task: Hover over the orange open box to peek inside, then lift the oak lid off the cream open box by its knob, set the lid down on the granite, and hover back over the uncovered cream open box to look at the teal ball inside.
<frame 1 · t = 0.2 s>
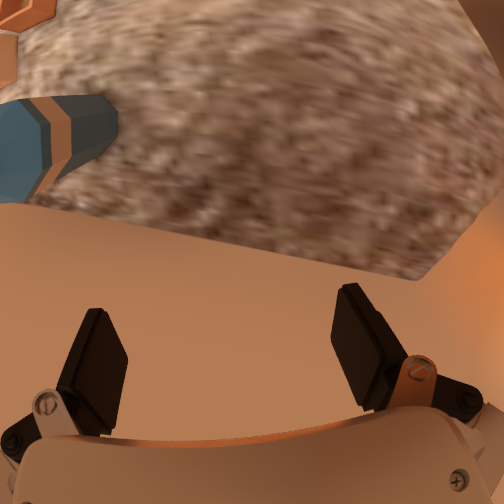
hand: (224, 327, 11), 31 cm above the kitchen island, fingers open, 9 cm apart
cream open box: (0, 67, 24), on the kitchen island
orange open box: (39, 6, 21), on the kitchen island
water bottle: (89, 125, 33), on the kitchen island
cork: (37, 6, 20), point 1 cm above the kitchen island, touching orange open box
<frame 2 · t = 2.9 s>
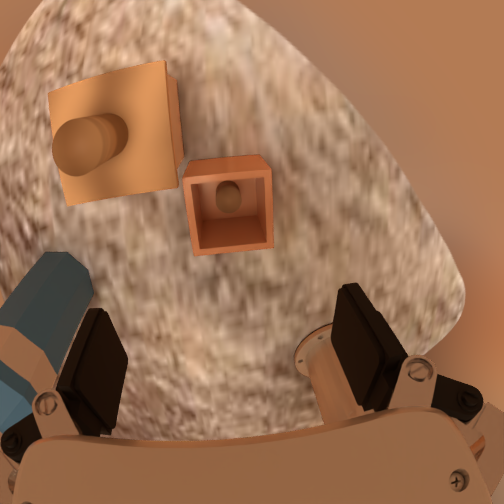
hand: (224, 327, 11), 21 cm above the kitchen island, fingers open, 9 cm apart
cream open box: (141, 124, 25), on the kitchen island
lid: (110, 134, 18), point 9 cm above the kitchen island, touching cream open box
orange open box: (227, 190, 30), on the kitchen island
water bottle: (64, 279, 33), on the kitchen island
cork: (227, 191, 29), point 1 cm above the kitchen island, touching orange open box
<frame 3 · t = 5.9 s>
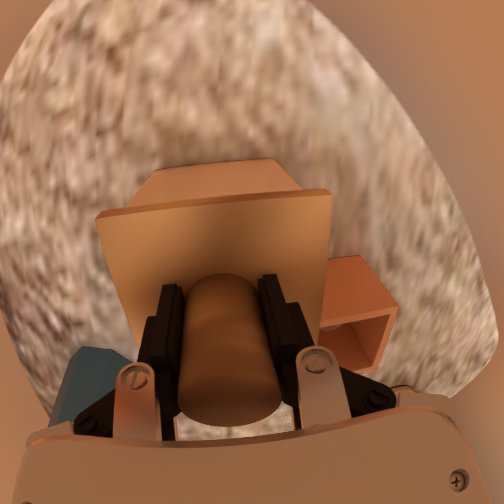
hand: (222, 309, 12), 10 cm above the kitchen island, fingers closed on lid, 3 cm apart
cream open box: (218, 217, 21), on the kitchen island
lid: (222, 293, 13), point 9 cm above the kitchen island, touching cream open box, gripper
orange open box: (318, 293, 25), on the kitchen island
water bottle: (107, 371, 28), on the kitchen island
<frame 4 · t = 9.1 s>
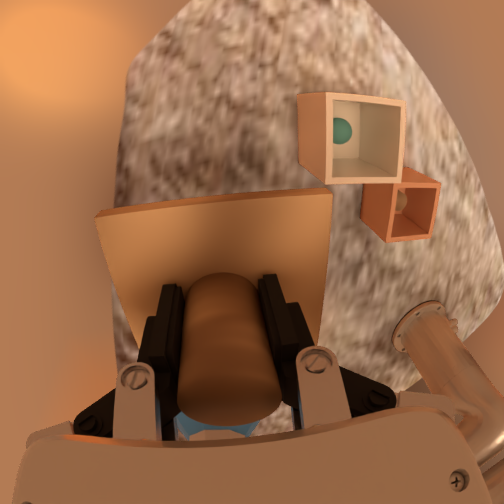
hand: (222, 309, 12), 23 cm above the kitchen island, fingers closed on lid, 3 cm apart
ball: (333, 129, 30), point 1 cm above the kitchen island, touching cream open box
cream open box: (331, 129, 30), on the kitchen island
lid: (221, 292, 13), point 21 cm above the kitchen island, touching gripper
orange open box: (385, 192, 35), on the kitchen island
water bottle: (212, 268, 38), on the kitchen island
cork: (387, 193, 34), point 1 cm above the kitchen island, touching orange open box
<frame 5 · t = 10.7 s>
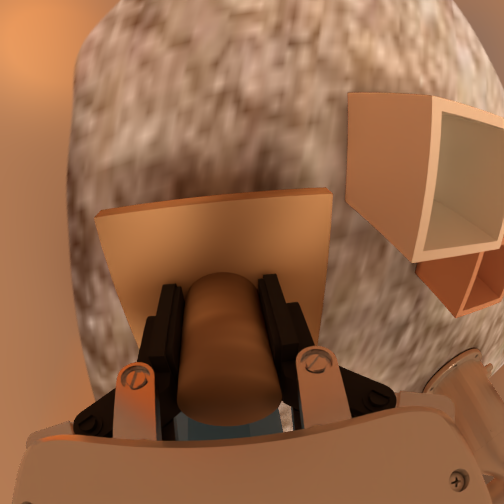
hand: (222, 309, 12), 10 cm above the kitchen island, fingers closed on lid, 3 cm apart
cream open box: (394, 150, 19), on the kitchen island
lid: (221, 292, 13), point 8 cm above the kitchen island, touching gripper
orange open box: (448, 237, 23), on the kitchen island
water bottle: (214, 343, 26), on the kitchen island
when the fingers open (3 cm above the kitchen island, at t = 12.2 s): lid drops 2 cm, on the kitchen island.
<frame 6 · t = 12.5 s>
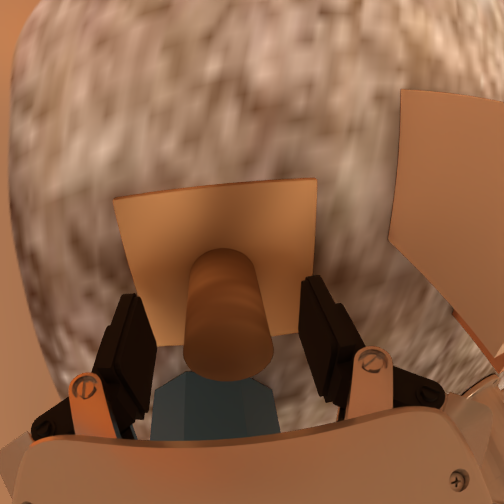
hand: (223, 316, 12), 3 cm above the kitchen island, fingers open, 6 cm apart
cream open box: (450, 170, 13), on the kitchen island
lid: (222, 268, 15), on the kitchen island
orange open box: (490, 272, 18), on the kitchen island
water bottle: (213, 402, 20), on the kitchen island
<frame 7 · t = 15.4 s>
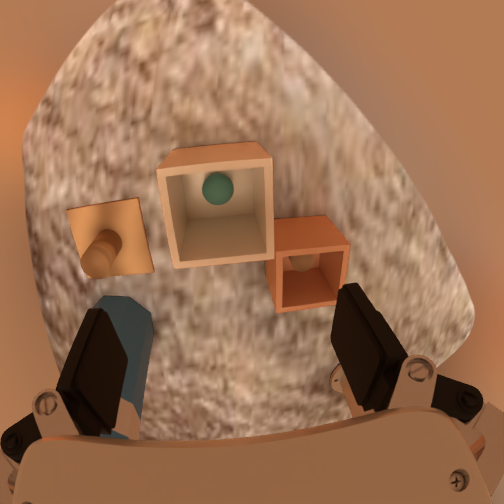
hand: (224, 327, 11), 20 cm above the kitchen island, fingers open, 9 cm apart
ball: (217, 184, 28), point 1 cm above the kitchen island, touching cream open box
cream open box: (217, 183, 29), on the kitchen island
lid: (111, 238, 31), on the kitchen island
orange open box: (294, 245, 33), on the kitchen island
water bottle: (122, 320, 36), on the kitchen island
cork: (296, 248, 33), point 1 cm above the kitchen island, touching orange open box
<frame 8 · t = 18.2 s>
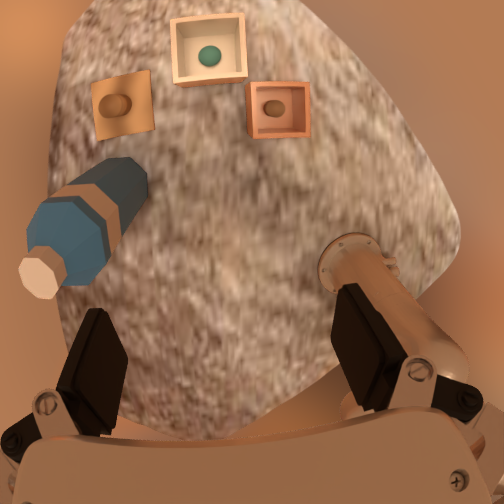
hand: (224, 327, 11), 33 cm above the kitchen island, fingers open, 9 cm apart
ball: (210, 57, 32), point 1 cm above the kitchen island, touching cream open box
cream open box: (210, 58, 33), on the kitchen island
lid: (123, 105, 35), on the kitchen island
orange open box: (271, 108, 37), on the kitchen island
water bottle: (120, 185, 40), on the kitchen island
cork: (271, 108, 37), point 1 cm above the kitchen island, touching orange open box
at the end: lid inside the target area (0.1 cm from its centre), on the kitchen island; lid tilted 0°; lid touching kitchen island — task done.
